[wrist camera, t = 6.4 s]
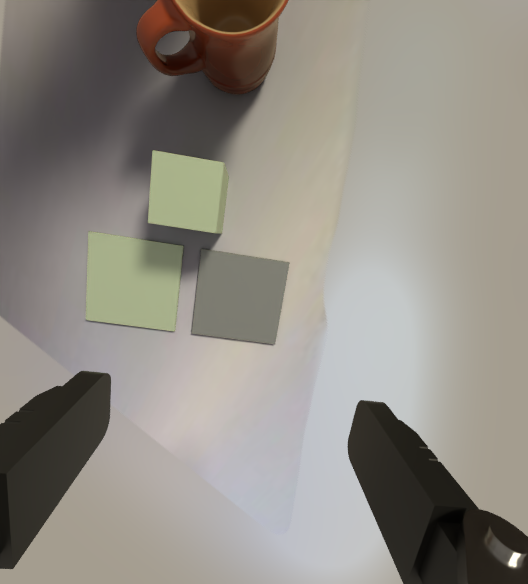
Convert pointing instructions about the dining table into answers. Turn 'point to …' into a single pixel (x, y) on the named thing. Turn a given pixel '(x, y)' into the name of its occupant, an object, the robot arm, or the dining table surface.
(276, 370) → the dining table surface
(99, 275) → the sage pad
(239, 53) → the mug
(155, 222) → the pale green cube
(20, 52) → the dining table surface
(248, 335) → the grey pad
